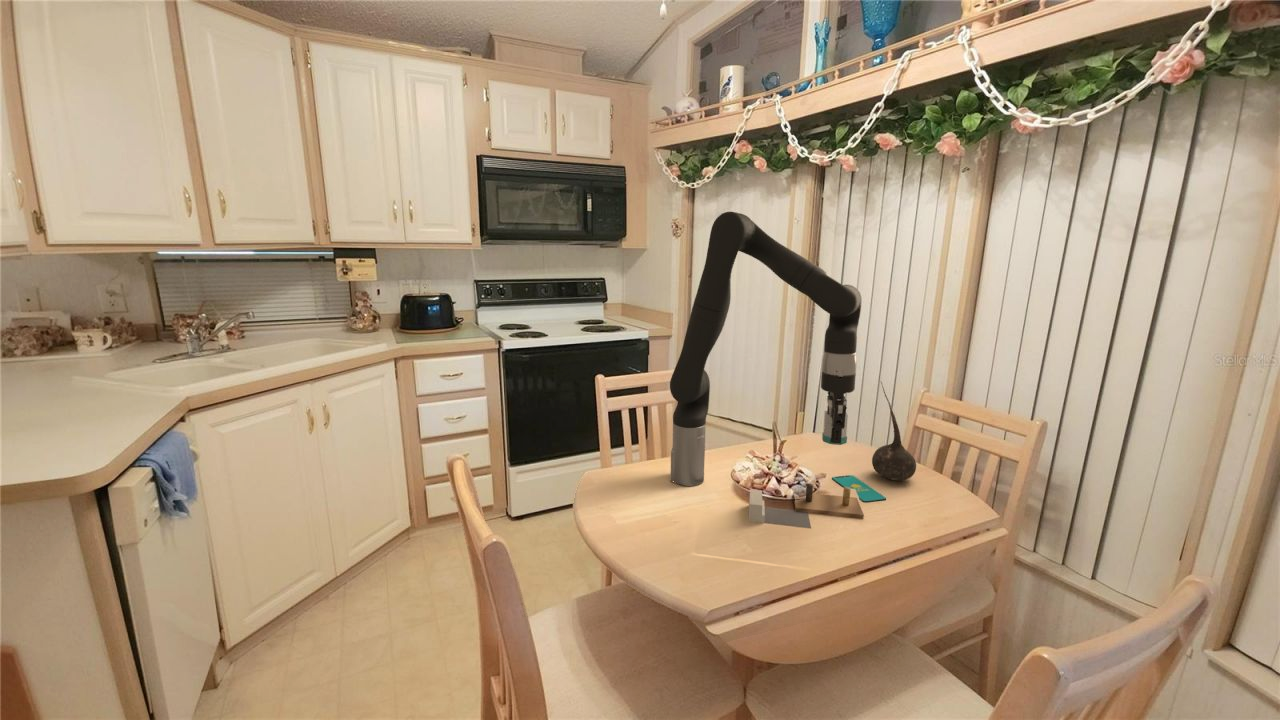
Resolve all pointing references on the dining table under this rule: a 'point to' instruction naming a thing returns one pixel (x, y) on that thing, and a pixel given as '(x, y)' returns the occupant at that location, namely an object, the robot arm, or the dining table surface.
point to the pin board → (829, 504)
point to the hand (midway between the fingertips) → (834, 438)
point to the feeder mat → (774, 513)
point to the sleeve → (828, 428)
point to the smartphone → (859, 488)
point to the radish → (894, 457)
